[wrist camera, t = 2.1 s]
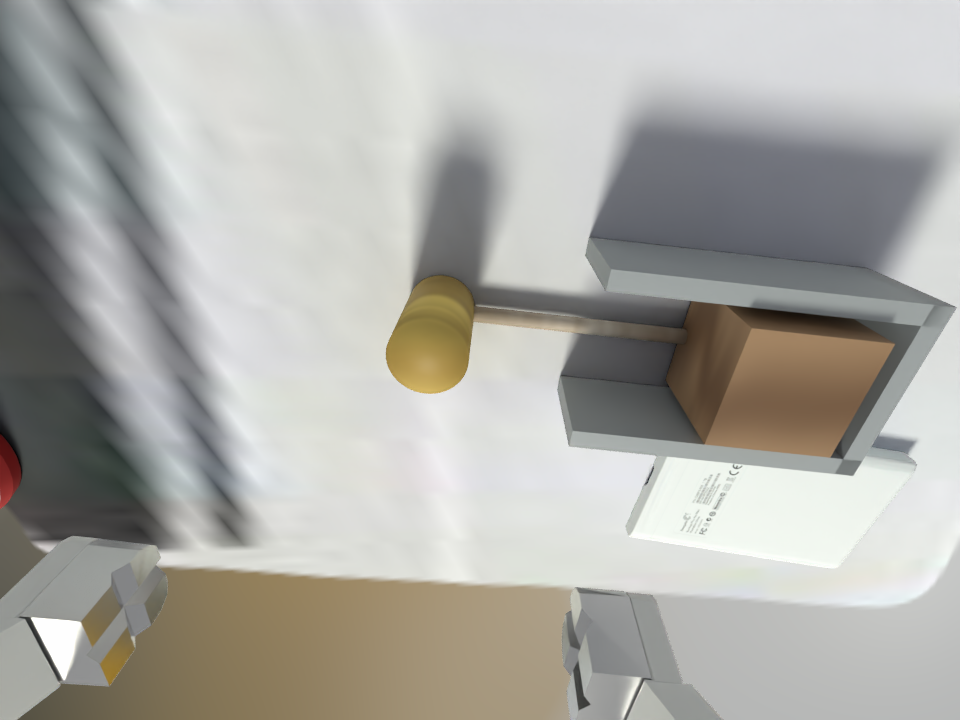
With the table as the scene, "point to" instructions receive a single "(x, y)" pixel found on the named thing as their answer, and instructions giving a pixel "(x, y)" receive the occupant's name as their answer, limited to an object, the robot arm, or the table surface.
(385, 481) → the table surface
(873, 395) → the lane
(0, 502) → the canned food
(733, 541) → the external hard drive
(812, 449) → the towed block
